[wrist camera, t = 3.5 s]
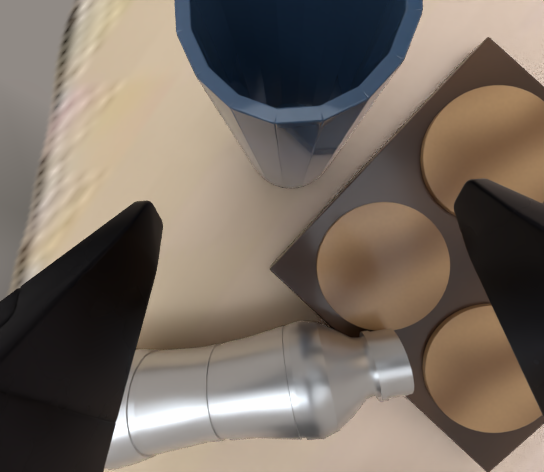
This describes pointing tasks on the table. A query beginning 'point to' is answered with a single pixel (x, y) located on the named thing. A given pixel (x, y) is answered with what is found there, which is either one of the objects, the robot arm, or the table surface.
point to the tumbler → (294, 72)
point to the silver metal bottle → (255, 389)
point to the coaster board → (434, 251)
